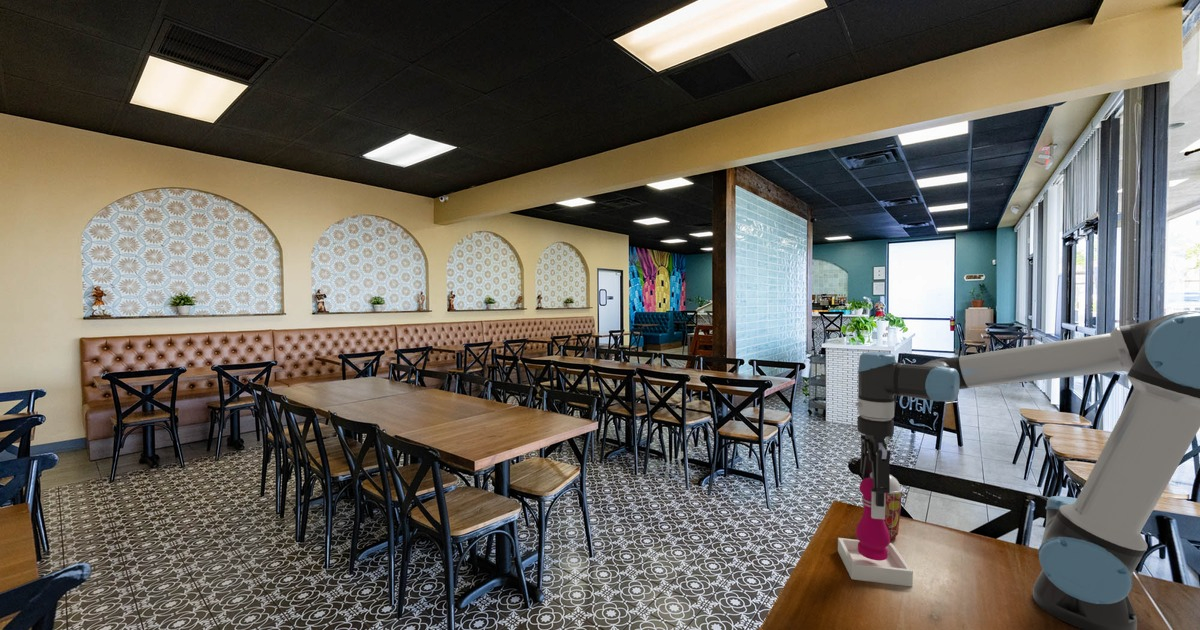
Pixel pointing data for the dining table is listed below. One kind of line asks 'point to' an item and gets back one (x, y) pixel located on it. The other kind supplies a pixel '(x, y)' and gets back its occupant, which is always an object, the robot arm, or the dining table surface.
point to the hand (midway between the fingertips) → (873, 511)
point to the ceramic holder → (875, 565)
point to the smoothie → (893, 508)
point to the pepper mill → (871, 527)
